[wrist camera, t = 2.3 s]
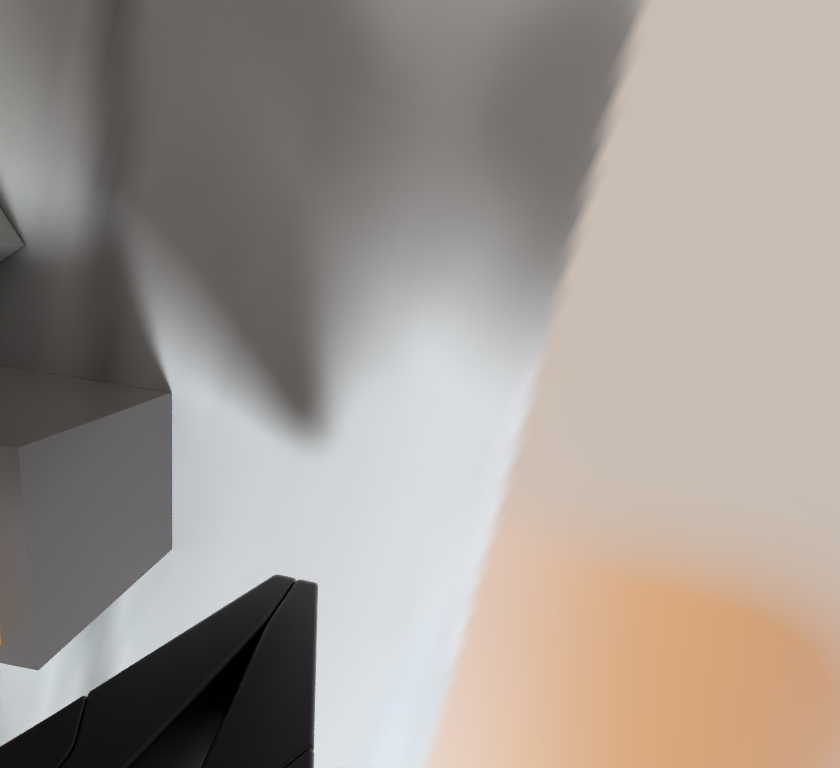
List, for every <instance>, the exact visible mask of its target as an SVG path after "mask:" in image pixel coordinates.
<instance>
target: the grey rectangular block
mask: <svg viewBox="0 0 840 768" xmlns="http://www.w3.org/2000/svg"><path fill="white" fill-rule="evenodd" d="M171 549H172V393H171V392H164V391H158V390H152V389H145V388H139V387H132V386H126V385H120V384H113V383H107V382H101V381H94V380H88V379H82V378H75V377H69V376H62V375H56V374H50V373H43V372H37V371H31V370H24V369H18V368H11V367H5V366H0V663H4V664H9V665H14V666H19V667H24V668H29V669H34V670H39V669H40V668H41V667H42V666H43V665H45V664H46V663H47V662H48V661H49V660H50V659H51V658H52V657H53V656H54V655H56V654H57V653H58V652H59V651H60V650H61V649H62V648H63V647H64V646H66V645H67V644H68V643H69V642H70V641H71V640H72V639H73V638H74V637H75V636H77V635H78V634H79V633H80V632H81V631H82V630H83V629H84V628H85V627H86V626H88V625H89V624H90V623H91V622H92V621H93V620H94V619H95V618H96V617H97V616H99V615H100V614H101V613H102V612H103V611H104V610H105V609H106V608H107V607H109V606H110V605H111V604H112V603H113V602H114V601H115V600H116V599H117V598H118V597H120V596H121V595H122V594H123V593H124V592H125V591H126V590H127V589H128V588H129V587H131V586H132V585H133V584H134V583H135V582H136V581H137V580H138V579H139V578H141V577H142V576H143V575H144V574H145V573H146V572H147V571H148V570H149V569H150V568H152V567H153V566H154V565H155V564H156V563H157V562H158V561H159V560H160V559H161V558H163V557H164V556H165V555H166V554H167V553H168V552H169V551H170V550H171Z"/></svg>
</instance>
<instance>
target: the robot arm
mask: <svg viewBox="0 0 840 768" xmlns="http://www.w3.org/2000/svg"><path fill="white" fill-rule="evenodd" d="M317 599H318V585H317V584H316V583H314V582H310V581H305V580H297V581H296V580H295V579H294V578H291V577H287V576H282V575H274V576H272V577H271V578H269V579H268V580H266V581H264V582H263V583H261V584H260V585H258V586H257V587H255V588H253V589H252V590H250V591H249V592H247V593H245V594H244V595H242V596H241V597H239V598H238V599H236V600H234V601H233V602H231V603H230V604H228V605H226V606H225V607H223V608H222V609H220V610H219V611H217V612H215V613H214V614H212V615H211V616H209V617H207V618H206V619H204V620H203V621H201V622H200V623H198V624H196V625H195V626H193V627H192V628H190V629H188V630H187V631H185V632H184V633H182V634H181V635H179V636H177V637H176V638H174V639H173V640H171V641H169V642H168V643H166V644H165V645H163V646H161V647H160V648H158V649H157V650H155V651H154V652H152V653H150V654H149V655H147V656H146V657H144V658H142V659H141V660H139V661H138V662H136V663H135V664H133V665H131V666H130V667H128V668H127V669H125V670H123V671H122V672H120V673H119V674H117V675H116V676H114V677H112V678H111V679H109V680H108V681H106V682H104V683H103V684H101V685H100V686H98V687H97V688H95V689H93V690H92V691H90V692H89V694H88V696H87V697H86V696H82V697H80V698H79V699H77V700H76V701H74V702H72V703H71V704H69V705H68V706H66V707H65V708H63V709H61V710H60V711H58V712H57V713H55V714H53V715H52V716H50V717H48V718H47V719H45V720H44V721H42V722H40V723H39V724H37V725H35V726H34V727H32V728H30V729H29V730H27V731H25V732H24V733H22V734H20V735H19V736H17V737H16V738H14V739H12V740H11V741H9V742H7V743H6V744H4V745H2V746H0V768H314V752H313V749H314V721H315V680H316V639H317Z"/></svg>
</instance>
